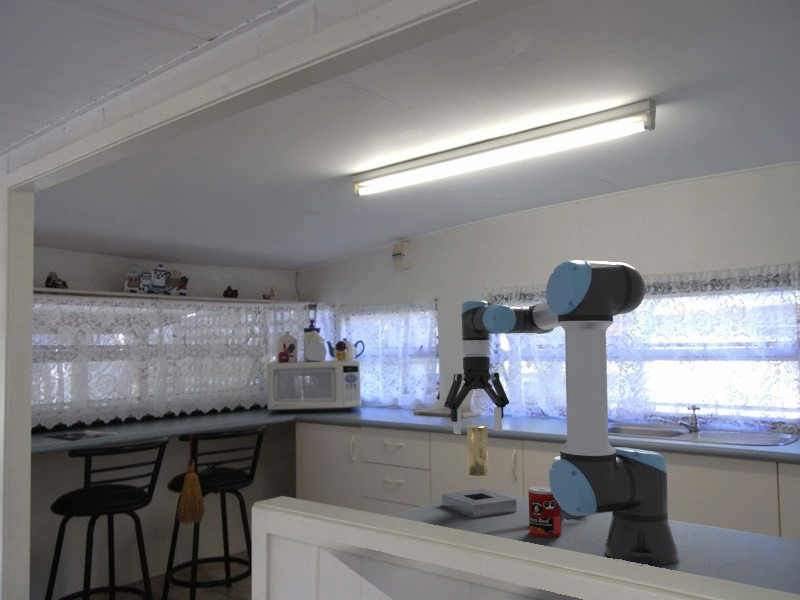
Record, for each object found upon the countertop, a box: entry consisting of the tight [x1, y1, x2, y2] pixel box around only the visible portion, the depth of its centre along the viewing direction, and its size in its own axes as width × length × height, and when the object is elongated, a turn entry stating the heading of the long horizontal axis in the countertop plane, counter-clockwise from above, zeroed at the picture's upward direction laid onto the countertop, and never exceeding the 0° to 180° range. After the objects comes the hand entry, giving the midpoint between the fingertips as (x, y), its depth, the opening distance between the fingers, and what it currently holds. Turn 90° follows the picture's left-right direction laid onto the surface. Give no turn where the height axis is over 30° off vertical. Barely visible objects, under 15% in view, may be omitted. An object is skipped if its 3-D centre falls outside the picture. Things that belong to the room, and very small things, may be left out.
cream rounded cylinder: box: [466, 425, 489, 477], centre depth 190 cm, size 6×6×13 cm
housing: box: [441, 488, 518, 519], centre depth 189 cm, size 16×14×4 cm
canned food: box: [528, 484, 563, 539], centre depth 168 cm, size 8×8×11 cm
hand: (478, 432), depth 190 cm, fingers open, 13 cm apart
